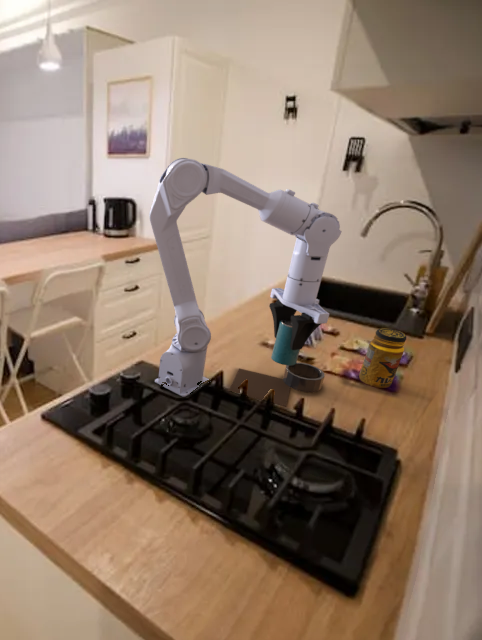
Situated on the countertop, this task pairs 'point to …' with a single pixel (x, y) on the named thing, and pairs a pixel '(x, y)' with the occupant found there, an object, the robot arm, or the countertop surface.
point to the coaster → (261, 386)
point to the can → (284, 345)
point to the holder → (302, 383)
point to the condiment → (383, 358)
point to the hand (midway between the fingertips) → (287, 343)
